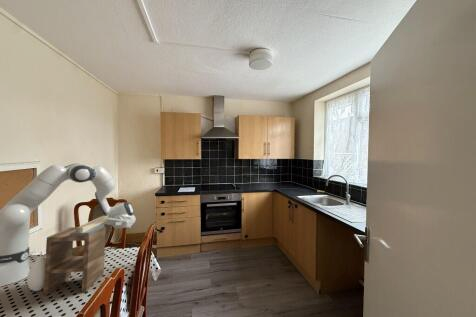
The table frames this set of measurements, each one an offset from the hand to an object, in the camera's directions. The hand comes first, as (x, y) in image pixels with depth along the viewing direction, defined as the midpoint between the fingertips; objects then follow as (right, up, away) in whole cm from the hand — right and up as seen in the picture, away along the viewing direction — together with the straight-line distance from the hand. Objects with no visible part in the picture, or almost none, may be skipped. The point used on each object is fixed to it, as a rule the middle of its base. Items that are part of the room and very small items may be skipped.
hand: (107, 222), depth 116 cm
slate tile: (+5, +3, -21) cm, 21 cm away
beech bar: (+4, +4, -17) cm, 18 cm away
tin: (-19, -24, 0) cm, 31 cm away
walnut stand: (0, -23, -22) cm, 32 cm away
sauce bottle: (-13, -23, -27) cm, 38 cm away
